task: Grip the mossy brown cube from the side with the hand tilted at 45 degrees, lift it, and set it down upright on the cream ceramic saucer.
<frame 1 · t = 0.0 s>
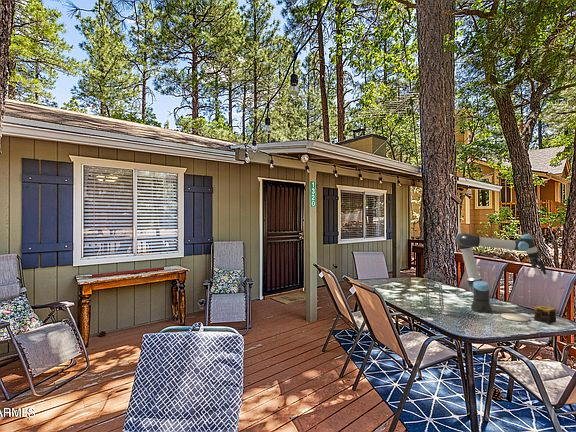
hand: (542, 276, 271), 28 cm above the table, tool tilted 20°, fingers open, 13 cm apart
geometric lantern: (434, 312, 267), on the table
saucer: (514, 318, 250), on the table
mossy brown cube: (545, 321, 242), on the table
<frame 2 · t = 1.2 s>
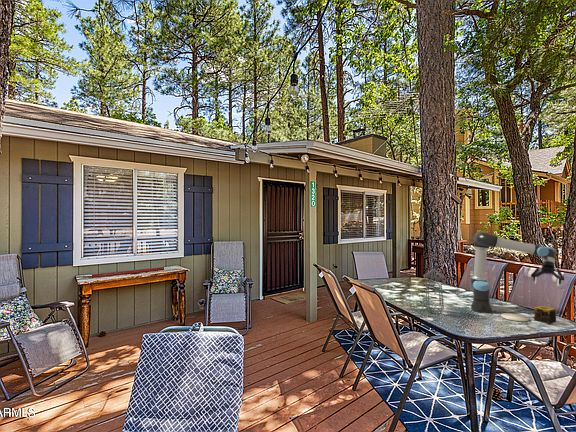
hand: (546, 285, 250), 25 cm above the table, tool tilted 45°, fingers open, 13 cm apart
nothing on the table moved.
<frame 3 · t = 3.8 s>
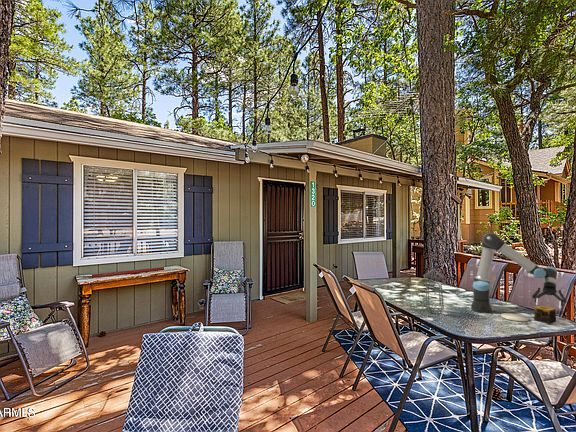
hand: (548, 307, 244), 9 cm above the table, tool tilted 45°, fingers open, 13 cm apart
nothing on the table moved.
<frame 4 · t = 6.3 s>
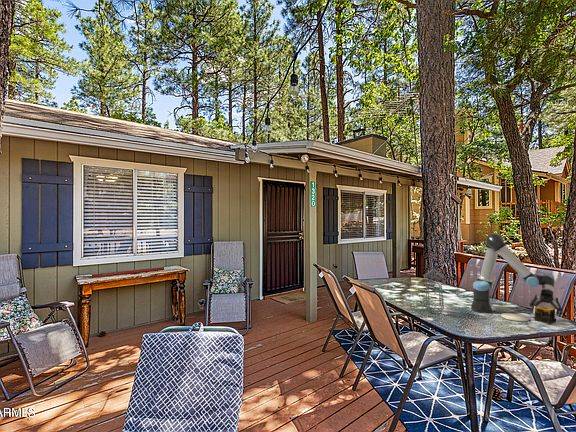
hand: (544, 316, 240), 4 cm above the table, tool tilted 45°, fingers closed on mossy brown cube, 12 cm apart
mossy brown cube: (545, 321, 242), on the table, touching gripper
everything else where it was.
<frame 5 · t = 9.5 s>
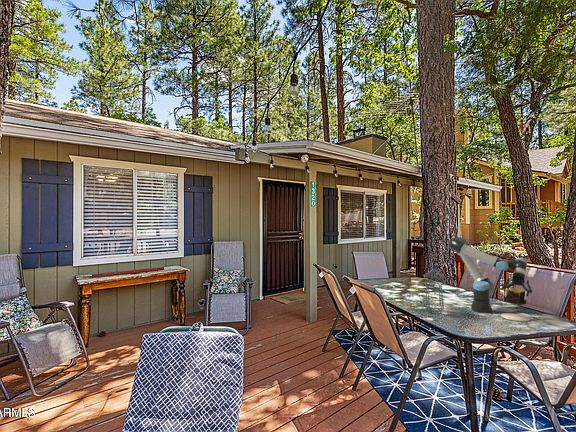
hand: (515, 297, 248), 16 cm above the table, tool tilted 45°, fingers closed on mossy brown cube, 12 cm apart
mossy brown cube: (516, 303, 249), point 11 cm above the table, touching gripper
everything else where it was.
when the fingers open (7 cm above the table, at t = 12.9 s): mossy brown cube drops 1 cm, resting on saucer.
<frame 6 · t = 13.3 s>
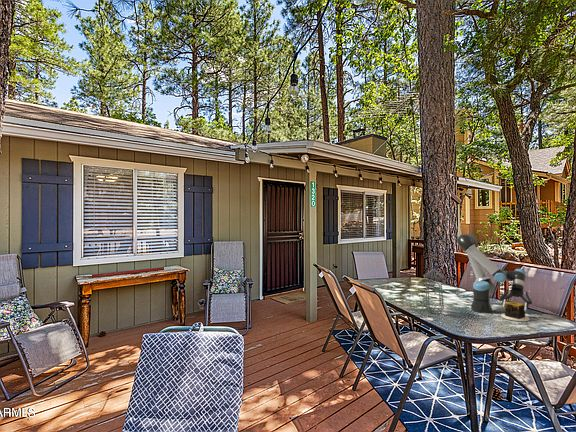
hand: (514, 309, 248), 7 cm above the table, tool tilted 45°, fingers open, 13 cm apart
mossy brown cube: (514, 316, 250), point 1 cm above the table, touching saucer
everything else where it was.
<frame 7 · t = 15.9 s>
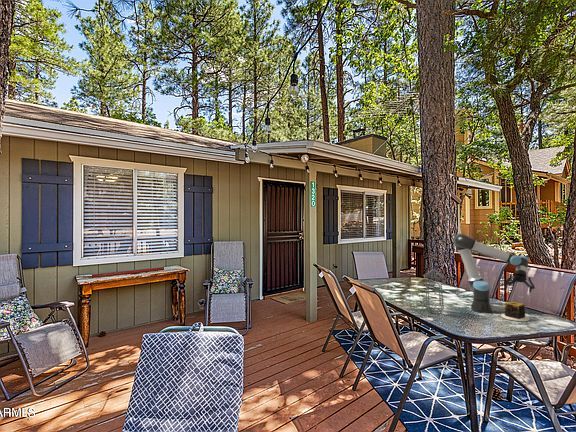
hand: (517, 293, 257), 17 cm above the table, tool tilted 45°, fingers open, 13 cm apart
nothing on the table moved.
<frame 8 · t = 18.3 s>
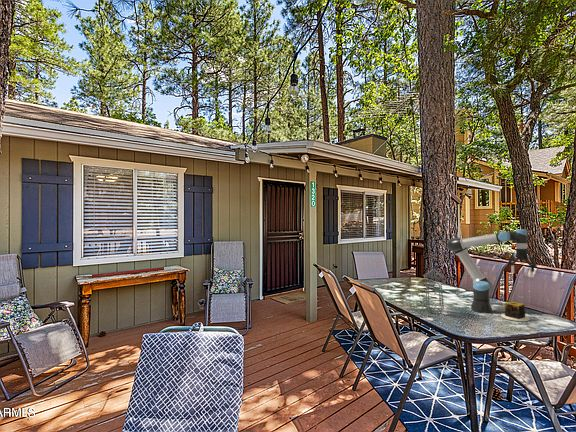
hand: (521, 274, 264), 31 cm above the table, tool pointing down, fingers open, 13 cm apart
nothing on the table moved.
at the end: mossy brown cube inside the target area on the saucer (0.1 cm from its centre), point 1.0 cm above the saucer's base; mossy brown cube tilted 0°; the gripper is holding nothing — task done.
